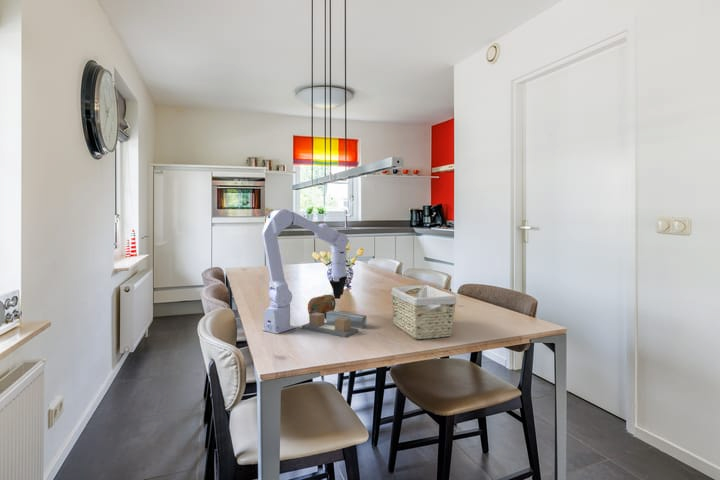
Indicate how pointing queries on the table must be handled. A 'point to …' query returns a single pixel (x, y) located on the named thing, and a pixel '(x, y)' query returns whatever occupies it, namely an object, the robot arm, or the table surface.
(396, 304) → the storage basket
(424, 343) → the table surface
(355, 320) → the beam
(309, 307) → the tin
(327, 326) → the gate base
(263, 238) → the robot arm
